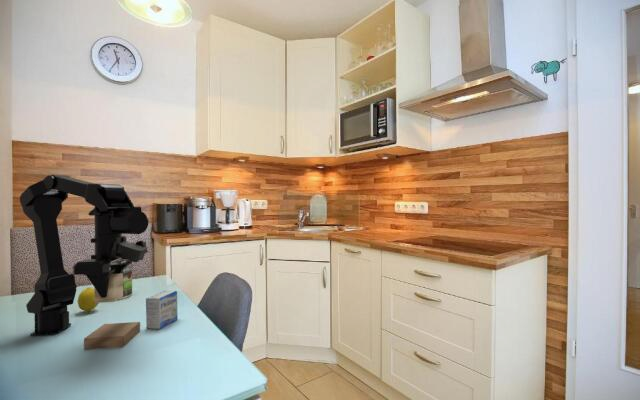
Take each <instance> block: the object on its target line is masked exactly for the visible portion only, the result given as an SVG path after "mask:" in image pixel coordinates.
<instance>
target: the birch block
mask: <svg viewBox="0 0 640 400" xmlns="http://www.w3.org/2000/svg"><path fill="white" fill-rule="evenodd" d="M93 289H94V296H95V303H98V304H99V303H114V302H116V301H119V300H118V299H120V298H121V297H123V273H121V274H111V275H110V276H109V284H108V292H107V297H105V298H101V296H100V295H99V293H98V292H97V290H96V289H95V287H94V286H93Z"/></svg>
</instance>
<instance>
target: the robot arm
mask: <svg viewBox="0 0 640 400" xmlns="http://www.w3.org/2000/svg"><path fill="white" fill-rule="evenodd" d="M69 194H71V195H74V196H78V197H81V198H83V199H84V201H85V202H86V203H87V204H90V206H93V207H94V208H93V209H92V210H89V212H88V215H89V216H94V219H93V220H94V221H93V222H94V237H92V238H90V244H92V243H93V244H94V254H91V255H90V258H89V259H87V258H86V259H83V260H79V261H78V262H76V263H75V264H74V265H72V273H69V272H68V271H67V270H66V269H65V265H64V260H63V259H64V258H63V253H62V252H63V251H62V248H61V240H60V239H61V238H60V235H59V232H60V231H59V227H58V221H57V219H58V217H59V215H60V214H61V212H62V210H63V203H64V202H65V201H66V200H67V199H68V198H69ZM19 202H20V205H21V208H22V211H23V214H24V215H25V216H26V217H27V218H28V219H29V220H31V222H32V224H33V230H34V236H35V238H34V239H35V242H36V243H35V244H36V249H37V256H38V257H37V258H38V263H39V270H40V275H39V276H38V278H37V280H36V282H35V284H34V294H33V295H32V297H31V298H30V299H29V300H28V302H27V303H26V304H25V305H26V306H25V307H26V310H27V313H28V314H34V331H33V332H31V333H29V336H32V337H33V336H34V337H35V336H45V335H46V336H48V335H58V334H59V333H60V332H63V331H64V330H66V329H67V328H68V327H70V326H72V323H70V311H69V310H68V306H71V305H73V304H74V301H75V298H76V293H77V288H78V286H77V283H76V276H79V275H83V276H86V278H87V279H88V280H89V282H90V283H91V284H92V285H93V288H94V287H95V289H96V290H97V292H98V293H99V295H100V296H101V298H105V297H107V292H108V284H109V276H110V275H111V274H121V273H123V270H124V269H125V268H126V267H127V266H128V265H130V264H131V262H126V260H124V259H128V260H130V261H132V263H138V262H140V261H143V260H144V258H145V255H146V254H147V253H148V251H149V250H148V248H149V247H147V242H146V241H144V240H138V241H136V242H127V237H126V235H142V234H143V233H144V232H146V231H147V228H149V223H150V222H149V218H148V217H147V214H146V213H145V212H144V211H142V207H141V206H134V203H133V201H132V200H131V199H130V197H129V195H128V193H127V191H125V187H124V186H123V185H121V184H110V183H94V182H90V181H85V180H82V179H78V178H75V177H72V176H69V175H66V174H65V175H63V174H49V175H46V176H45V177H44V178H43V179H41V180H40V181H37V182H36V183H33V184H31V185H29V186H28V187H27V188H26V189H25V190H24V191H23V192H22V193H21V194H20V196H19ZM122 234H123V235H122ZM125 234H126V235H125ZM75 275H76V276H75Z"/></svg>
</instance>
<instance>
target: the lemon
mask: <svg viewBox="0 0 640 400" xmlns="http://www.w3.org/2000/svg"><path fill="white" fill-rule="evenodd" d="M77 305H78V308H79V309H80V310H82V311H84V312H86V313H90V312H91V311H93V309H95V308H96V307H97V306H98V305H99V303H95V296H94V288H92V287H86V288H85V289H83V290H82V291H81V292H79V295H78V296H77Z"/></svg>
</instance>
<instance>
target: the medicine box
mask: <svg viewBox="0 0 640 400" xmlns="http://www.w3.org/2000/svg"><path fill="white" fill-rule="evenodd" d="M177 319H178V291H177V290H173V289H172V290H171V289H170V290H169V289H168V290H167V289H166V290H163V291H161V292H159V293H158V292H157V293H156V294H154V295H150V296H149V297H146V298H145V322H146V324H145V325H146V329H150V330H151V329H152V330H153V329H154V330H155V329H156V330H161V329H163V328H164V327H166V326H168V325H169V324H171V323H173V322H175V321H177Z"/></svg>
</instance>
